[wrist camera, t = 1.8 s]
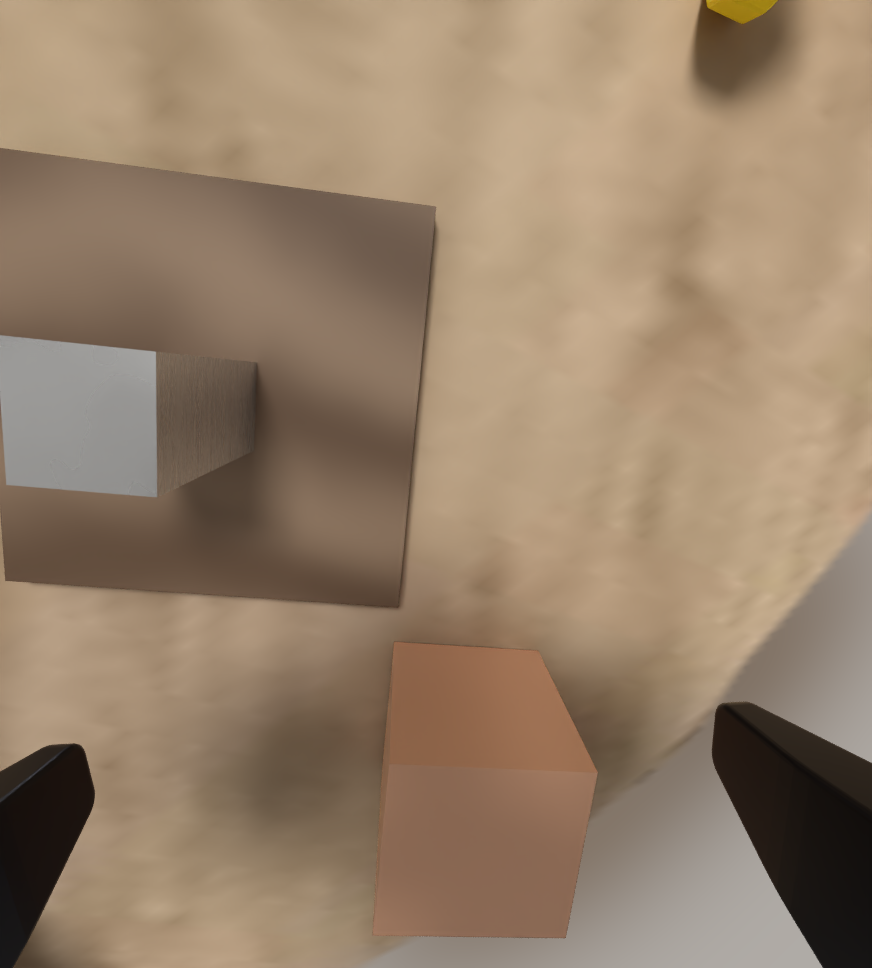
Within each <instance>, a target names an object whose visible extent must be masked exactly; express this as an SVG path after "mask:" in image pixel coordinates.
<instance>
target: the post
mask: <svg viewBox="0 0 872 968" xmlns="http://www.w3.org/2000/svg"><path fill="white" fill-rule="evenodd" d="M256 372H257V362H248V361H239V360H230V359H220V358H211V357H201V356H192V355H183V354H173V353H164V352H154V351H145V350H135V349H126V348H116V347H107V346H97V345H88V344H79V343H69V342H60V341H50V340H41V339H31V338H22V337H12V336H3V335H0V402H1V416H2V430H3V444H4V458H5V473H6V485H14V486H26V487H38V488H50V489H62V490H74V491H86V492H98V493H110V494H122V495H135V496H147V497H159V496H161V495H163V494H165V493H167V492H169V491H171V490H173V489H176V488H178V487H180V486H182V485H184V484H186V483H188V482H190V481H192V480H194V479H196V478H198V477H200V476H202V475H204V474H207V473H209V472H211V471H213V470H215V469H217V468H219V467H221V466H223V465H225V464H227V463H229V462H231V461H233V460H236V459H238V458H240V457H242V456H244V455H246V454H248V453H250V452H252V451H254V437H255V405H256Z"/></svg>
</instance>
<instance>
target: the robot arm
mask: <svg viewBox="0 0 872 968" xmlns="http://www.w3.org/2000/svg"><path fill="white" fill-rule="evenodd" d="M712 758H713V763H714V766H715V769H716V771H717V773H718V775H719V777H720V779H721V781H722V783H723V785H724V787H725V789H726V791H727V793H728V795H729V797H730V799H731V801H732V803H733V805H734V807H735V809H736V811H737V813H738V815H739V817H740V819H741V821H742V823H743V825H744V827H745V829H746V831H747V833H748V835H749V837H750V839H751V841H752V843H753V846H754V847H755V850H756V851H757V854H758V856H759V858H760V859H761V861H762V864H763V866H764V867H765V869H766V871H767V873H768V875H769V877H770V879H771V881H772V883H773V885H774V886H775V888H776V890H777V892H778V893H779V895H780V897H781V899H782V901H783V902H784V904H785V906H786V907H787V909H788V911H789V913H790V914H791V916H792V917H793V919H794V921H795V923H796V924H797V926H798V927H799V929H800V931H801V932H802V934H803V936H804V937H805V939H806V941H807V942H808V944H809V946H810V947H811V949H812V950H813V952H814V954H815V955H816V957H817V959H818V960H819V962H820V964H821V965H822V967H823V968H872V763H870V762H869V761H867V760H865V759H862V758H860V757H859V756H856V755H855V754H853V753H851V752H849V751H846V750H845V749H842V748H841V747H839V746H836V745H835V744H833V743H830V742H828V741H827V740H825V739H822V738H821V737H818V736H817V735H815V734H813V733H811V732H809V731H807V730H804V729H803V728H801V727H799V726H797V725H795V724H793V723H791V722H788V721H787V720H785V719H783V718H781V717H779V716H776V715H774V714H773V713H770V712H769V711H766V710H765V709H763V708H761V707H758V706H757V705H755V704H752V703H750V702H731V703H722V704H720V705H719V706H718V707H717V709H716V713H715V722H714V734H713V744H712ZM94 799H95V790H94V785H93V781H92V777H91V773H90V769H89V765H88V761H87V757H86V753H85V751H84V749H83V748H82V746H81V745H79V744H75V743H73V744H57V745H49V746H46V747H44V748H41V749H40V750H38V751H36V752H34V753H33V754H31V755H29V756H27V757H25V758H24V759H22V760H20V761H18V762H17V763H15V764H13V765H11V766H9V767H8V768H6V769H4V770H2V771H0V968H13V967H14V965H15V963H16V961H17V959H18V958H19V956H20V954H21V952H22V950H23V949H24V947H25V945H26V943H27V941H28V939H29V937H30V936H31V934H32V932H33V930H34V928H35V926H36V924H37V922H38V920H39V918H40V916H41V914H42V912H43V910H44V908H45V906H46V904H47V902H48V900H49V897H50V895H51V893H52V891H53V889H54V887H55V885H56V883H57V881H58V879H59V877H60V875H61V873H62V871H63V869H64V867H65V865H66V862H67V860H68V858H69V856H70V854H71V852H72V850H73V848H74V846H75V844H76V842H77V840H78V838H79V836H80V834H81V832H82V829H83V827H84V825H85V823H86V821H87V819H88V817H89V815H90V813H91V810H92V807H93V804H94Z"/></svg>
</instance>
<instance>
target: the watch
mask: <svg viewBox="0 0 872 968" xmlns="http://www.w3.org/2000/svg"><path fill="white" fill-rule="evenodd" d="M777 1H778V0H706V3H707V8H709V9H711V10H713V11H715V12H717V13H720V14H722V15H724V16H726V17H728V18H730V19H732V20H734V21H736V22H738V23H740V24H744V23H746V22H748V21H750V20H752V19H754V18H756V17H758V16H760V15H762V14H764V13H766V12H767V10H769V9H771V7H772V6H773V5H774V4H775V3H776V2H777Z"/></svg>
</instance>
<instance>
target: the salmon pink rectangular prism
mask: <svg viewBox="0 0 872 968" xmlns="http://www.w3.org/2000/svg"><path fill="white" fill-rule="evenodd" d="M597 775H598V772H597V770H596V768H595V766H594V764H593V762H592V760H591V758H590V756H589V754H588V752H587V750H586V748H585V746H584V743H583V741H582V739H581V737H580V735H579V733H578V731H577V729H576V727H575V725H574V723H573V721H572V719H571V717H570V715H569V713H568V711H567V709H566V707H565V705H564V703H563V701H562V699H561V697H560V695H559V693H558V690H557V688H556V686H555V684H554V682H553V680H552V678H551V676H550V674H549V672H548V670H547V668H546V666H545V664H544V662H543V660H542V658H541V656H540V654H539V652H538V651H534V650H518V649H502V648H486V647H470V646H454V645H438V644H421V643H405V642H394V647H393V658H392V669H391V679H390V690H389V700H388V711H387V721H386V732H385V743H384V753H383V764H382V778H381V796H380V814H379V831H378V849H377V866H376V884H375V902H374V919H373V935H375V936H447V937H450V936H451V937H517V938H519V937H520V938H566V933H567V929H568V924H569V919H570V913H571V908H572V903H573V898H574V893H575V887H576V883H577V877H578V872H579V867H580V862H581V856H582V852H583V847H584V842H585V837H586V831H587V826H588V821H589V816H590V811H591V806H592V801H593V796H594V790H595V785H596V780H597Z"/></svg>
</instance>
